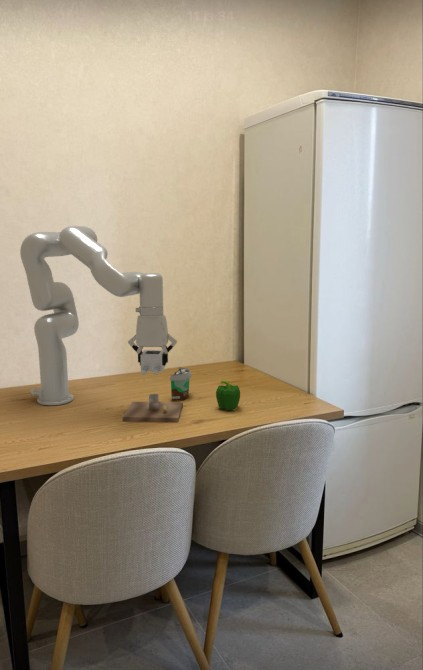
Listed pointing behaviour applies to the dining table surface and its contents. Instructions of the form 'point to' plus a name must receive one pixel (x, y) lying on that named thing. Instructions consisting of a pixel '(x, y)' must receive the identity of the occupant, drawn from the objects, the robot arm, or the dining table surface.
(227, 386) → the bell pepper
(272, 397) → the dining table surface
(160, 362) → the bracket
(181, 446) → the dining table surface
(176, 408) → the post board
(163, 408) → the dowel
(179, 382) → the food container
